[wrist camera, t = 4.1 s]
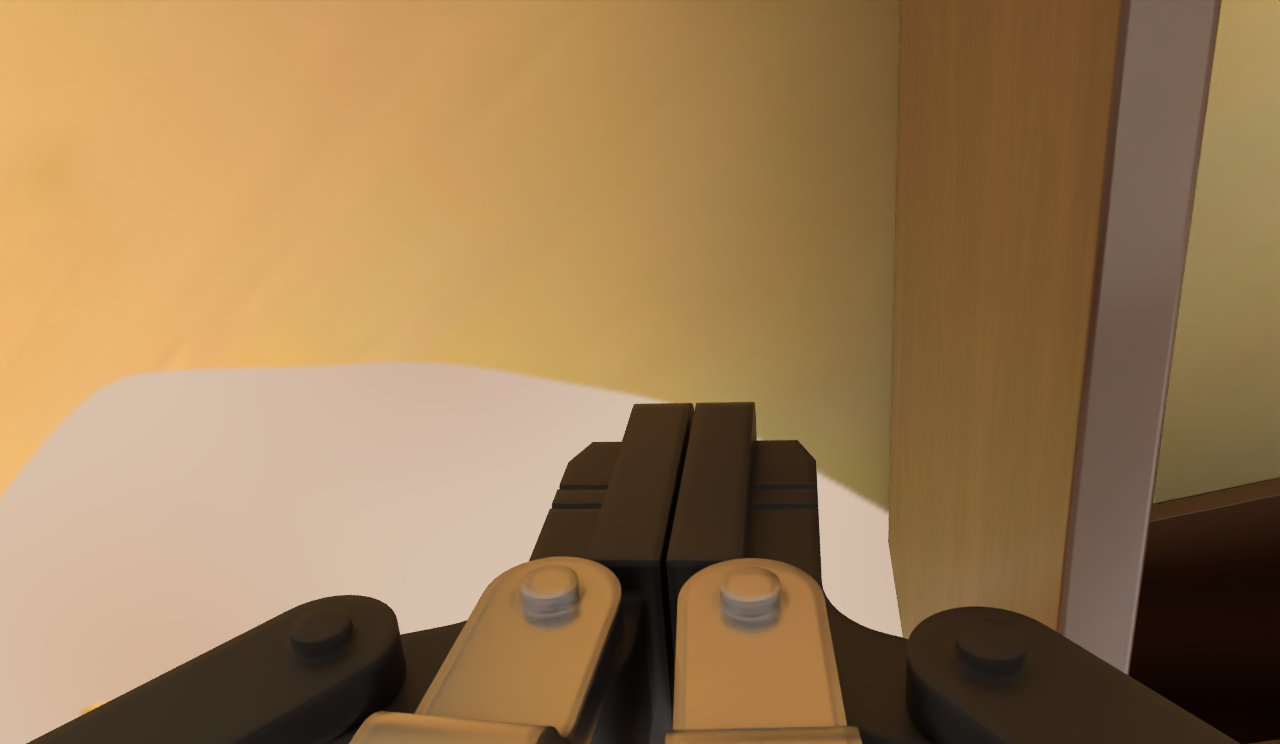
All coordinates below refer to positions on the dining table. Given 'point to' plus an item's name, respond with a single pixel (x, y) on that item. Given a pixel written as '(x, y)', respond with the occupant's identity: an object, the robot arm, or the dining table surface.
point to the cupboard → (1214, 610)
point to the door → (1038, 300)
